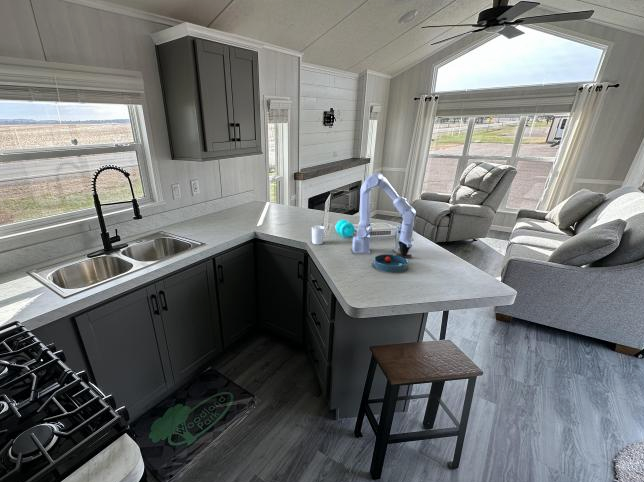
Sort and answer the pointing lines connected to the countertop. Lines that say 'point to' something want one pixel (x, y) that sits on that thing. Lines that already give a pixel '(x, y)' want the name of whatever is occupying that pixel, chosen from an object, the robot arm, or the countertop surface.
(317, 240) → the white cup
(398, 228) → the beer glass
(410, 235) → the robot arm
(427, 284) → the countertop surface
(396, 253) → the paddle
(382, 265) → the bowl
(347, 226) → the donuts
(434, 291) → the countertop surface
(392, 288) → the countertop surface
